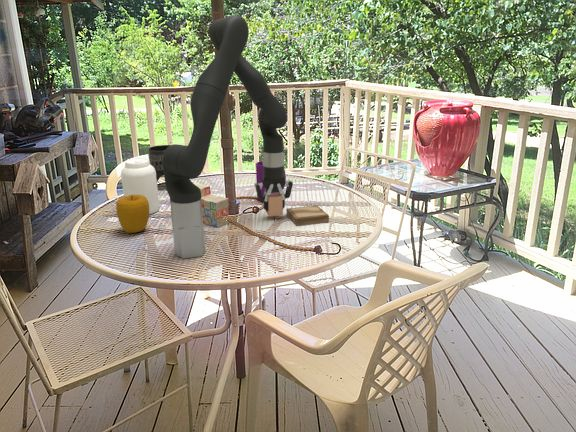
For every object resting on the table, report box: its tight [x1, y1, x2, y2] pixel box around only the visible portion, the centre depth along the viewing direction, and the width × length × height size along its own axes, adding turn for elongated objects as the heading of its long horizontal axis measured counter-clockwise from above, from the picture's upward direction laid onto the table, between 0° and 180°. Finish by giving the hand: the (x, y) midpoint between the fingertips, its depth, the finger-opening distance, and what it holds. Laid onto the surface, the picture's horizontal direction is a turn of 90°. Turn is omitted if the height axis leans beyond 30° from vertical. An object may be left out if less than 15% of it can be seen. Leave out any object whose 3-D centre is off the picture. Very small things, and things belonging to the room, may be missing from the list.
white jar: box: [120, 157, 160, 215], centre depth 187 cm, size 12×12×20 cm
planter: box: [147, 144, 171, 183], centre depth 217 cm, size 13×13×18 cm
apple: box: [115, 195, 150, 234], centre depth 169 cm, size 11×11×13 cm
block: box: [265, 193, 284, 217], centre depth 180 cm, size 5×5×7 cm
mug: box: [255, 160, 287, 203], centre depth 203 cm, size 9×16×15 cm, turn 142°
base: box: [286, 205, 330, 227], centre depth 180 cm, size 12×12×3 cm
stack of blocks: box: [191, 181, 230, 228], centre depth 179 cm, size 21×6×12 cm, turn 51°
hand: (274, 209), depth 181 cm, fingers closed on block, 5 cm apart
